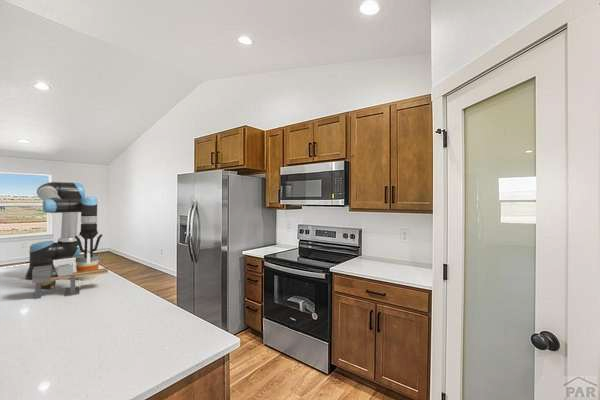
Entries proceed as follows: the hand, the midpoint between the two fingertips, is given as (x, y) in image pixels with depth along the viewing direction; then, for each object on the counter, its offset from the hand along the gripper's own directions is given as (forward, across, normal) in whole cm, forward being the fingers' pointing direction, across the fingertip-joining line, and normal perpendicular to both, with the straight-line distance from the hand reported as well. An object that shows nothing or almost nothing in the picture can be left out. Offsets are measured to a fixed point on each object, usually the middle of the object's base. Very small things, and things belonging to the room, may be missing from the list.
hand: (88, 263), depth 156 cm
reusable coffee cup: (+16, 0, +27) cm, 32 cm away
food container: (+16, -18, +17) cm, 29 cm away
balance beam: (+6, -7, -1) cm, 9 cm away
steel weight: (+6, -10, -1) cm, 11 cm away
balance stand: (+15, -13, -1) cm, 20 cm away
